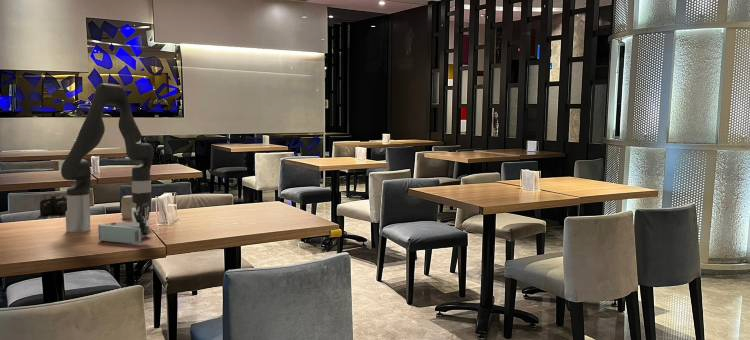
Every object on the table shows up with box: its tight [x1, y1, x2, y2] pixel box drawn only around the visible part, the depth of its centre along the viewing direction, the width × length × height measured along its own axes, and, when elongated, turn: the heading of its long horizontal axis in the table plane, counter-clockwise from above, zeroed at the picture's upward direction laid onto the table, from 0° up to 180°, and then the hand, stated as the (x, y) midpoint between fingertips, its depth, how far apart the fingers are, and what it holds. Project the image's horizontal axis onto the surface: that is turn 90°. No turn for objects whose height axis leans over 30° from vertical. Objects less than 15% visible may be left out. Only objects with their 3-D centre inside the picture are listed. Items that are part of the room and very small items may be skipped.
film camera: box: [39, 194, 67, 216], centre depth 307 cm, size 18×12×10 cm
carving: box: [120, 195, 137, 220], centre depth 291 cm, size 6×8×12 cm
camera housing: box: [105, 222, 150, 240], centre depth 245 cm, size 17×9×7 cm, turn 93°
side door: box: [97, 224, 142, 245], centre depth 235 cm, size 21×2×6 cm, turn 73°
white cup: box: [131, 206, 150, 227], centre depth 265 cm, size 8×8×10 cm
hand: (142, 231), depth 237 cm, fingers closed
